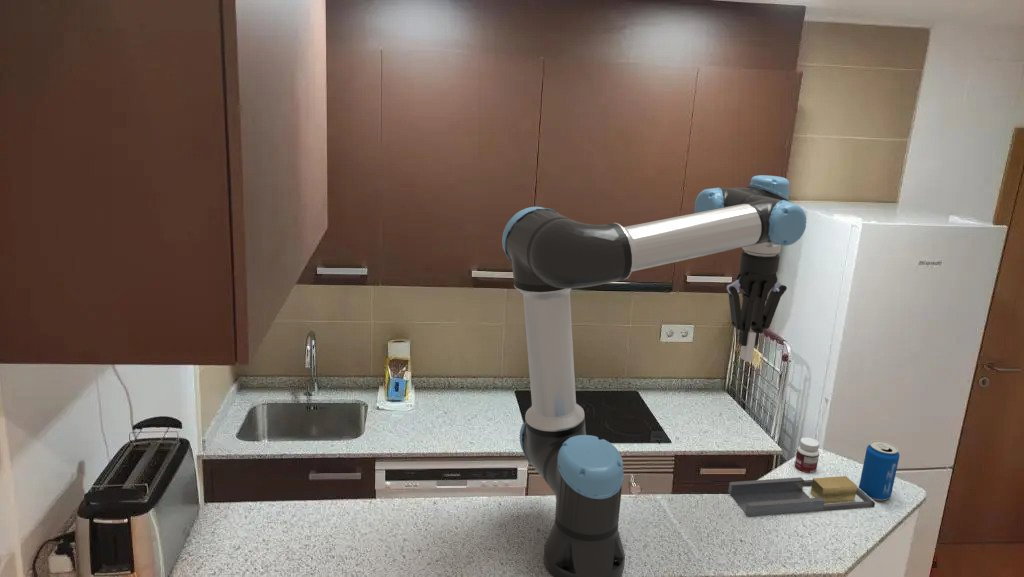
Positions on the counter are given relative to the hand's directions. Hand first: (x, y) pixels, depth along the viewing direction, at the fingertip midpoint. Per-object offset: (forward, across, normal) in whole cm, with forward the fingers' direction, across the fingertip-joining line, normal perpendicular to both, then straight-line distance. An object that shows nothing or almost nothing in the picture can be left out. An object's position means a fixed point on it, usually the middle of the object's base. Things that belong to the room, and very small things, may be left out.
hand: (745, 359), depth 152 cm
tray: (+30, +20, -10) cm, 38 cm away
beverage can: (+31, +31, -8) cm, 44 cm away
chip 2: (+30, +21, -10) cm, 38 cm away
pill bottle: (+31, +20, +2) cm, 37 cm away
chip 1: (+30, +17, -10) cm, 36 cm away
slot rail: (+30, +6, -10) cm, 32 cm away
